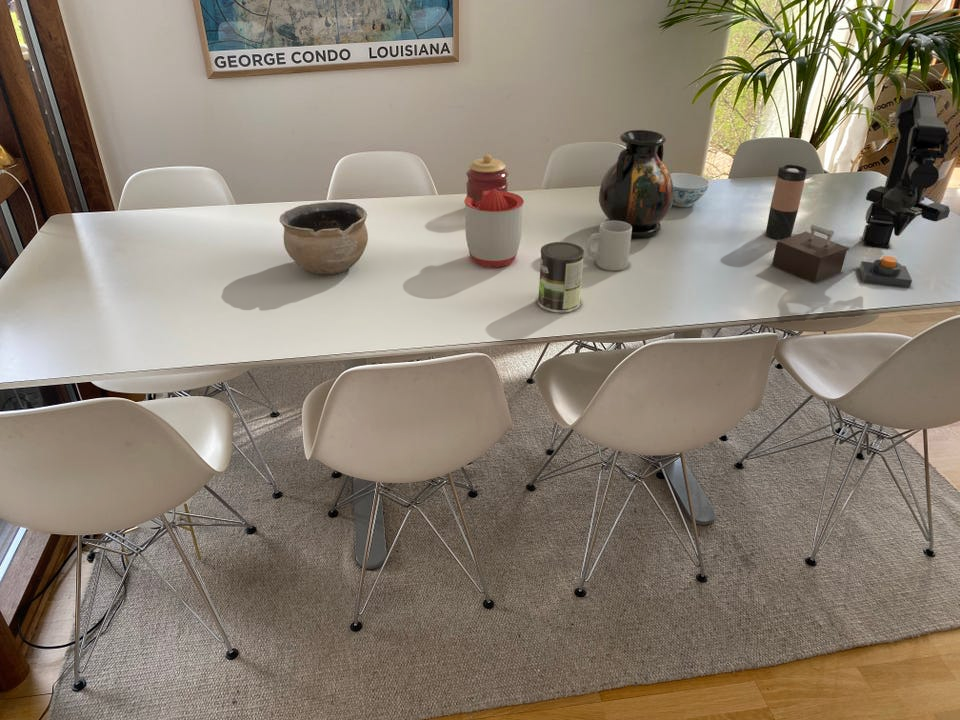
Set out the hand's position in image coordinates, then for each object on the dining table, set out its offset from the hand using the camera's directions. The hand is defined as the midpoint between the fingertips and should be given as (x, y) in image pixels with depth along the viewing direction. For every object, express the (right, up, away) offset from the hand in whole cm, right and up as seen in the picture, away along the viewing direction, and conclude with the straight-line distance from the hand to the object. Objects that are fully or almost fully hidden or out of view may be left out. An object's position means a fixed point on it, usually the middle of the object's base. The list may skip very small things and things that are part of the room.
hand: (896, 235), depth 197 cm
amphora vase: (-61, +7, +34) cm, 70 cm away
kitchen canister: (-104, +16, +47) cm, 116 cm away
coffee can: (-87, -18, -8) cm, 89 cm away
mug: (-72, -6, +12) cm, 74 cm away
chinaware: (-41, +19, +53) cm, 70 cm away
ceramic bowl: (-147, -7, +9) cm, 148 cm away
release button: (0, -7, +4) cm, 8 cm away
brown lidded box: (-19, -7, +11) cm, 23 cm away
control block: (0, -10, +6) cm, 12 cm away
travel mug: (-18, +5, +31) cm, 36 cm away
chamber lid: (-18, -2, +8) cm, 20 cm away
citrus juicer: (-104, -4, +15) cm, 105 cm away
